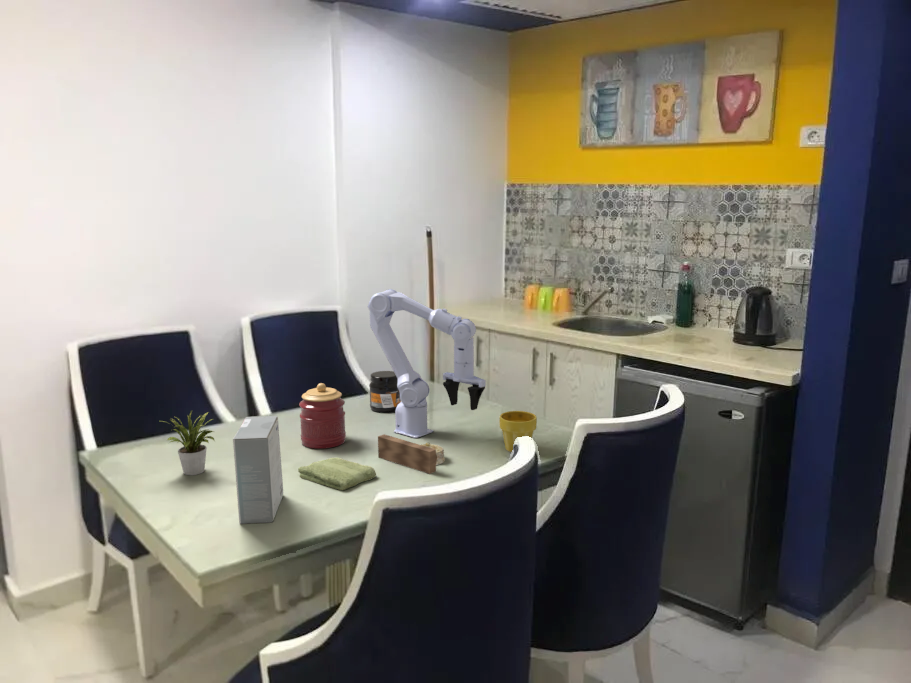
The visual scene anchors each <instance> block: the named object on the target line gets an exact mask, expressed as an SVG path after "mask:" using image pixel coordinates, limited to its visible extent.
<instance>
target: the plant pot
mask: <svg viewBox="0 0 911 683" xmlns="http://www.w3.org/2000/svg"><path fill="white" fill-rule="evenodd" d="M537 422H538V417H537V414H534V413H532V412H528V411H526V410H525V411H523V410H510V411H505V412H503V413H501V414H500V415H499V422H498V423H499V429H500V430H501V432H502V437H503V441H504V445H505V446H504V447H505V450H506V451H507V452H509V453H513V452H512V450H513V444H514V441H515V439H516V438H517V437H522V436H529V437H531V438H533V436H534V432H535V430H536V429H537Z"/></svg>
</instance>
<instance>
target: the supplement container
mask: <svg viewBox="0 0 911 683" xmlns="http://www.w3.org/2000/svg"><path fill="white" fill-rule="evenodd" d="M397 383H398V378H397V376H396V374H395V373H394V371H393V370H379V371H375V372H372V373H370V382H369V384H368V387H369V407H370V410H371V411H373V412H375V413H393V412H395V411H396V407H397V405H398V404H399V403H400V402H402V401H401V399H400V392H399V389H398V387H397Z"/></svg>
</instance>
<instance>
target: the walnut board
mask: <svg viewBox="0 0 911 683" xmlns="http://www.w3.org/2000/svg"><path fill="white" fill-rule="evenodd" d="M377 451H378V453H377V454H378V456H377V457H378V458H379V459H383V460H386V461H389V462H390V463H391V462H392V463H395V464H398V465H401V466H404V467H407V468H410V469H413V470H415V471H420V472H423V473H426V474H429V475H431V474H434V473H435V472H437V465H436V449H433V448H429V447H426V446H422V445H421V444H419V443H415V442H413V441H408V440H405V439H401V438H398V437H394V436H392V435H388V434H386V433H384V434H381V435H378V436H377Z"/></svg>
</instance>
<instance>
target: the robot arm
mask: <svg viewBox="0 0 911 683" xmlns="http://www.w3.org/2000/svg"><path fill="white" fill-rule="evenodd" d="M367 308H368V310H369V327H370V329H371V330H372V333H373V334H374V336H375V338H376V340H377V341H378V342H377V343H378V344H379V346H380V348H381V350H382V351H383V353H384V355H385V357H386V359H387V361H388V363H389V365H390V367H391V369H392V371H394V373H395V374H396V376H397V378H398V383H397V387H398V389H399V392H400V399H401V402H400V403H399V404H398V405H397V407H396V411H394V412H395V413H394V414H395V416H394V417H395V429H394V430H393V433H396V434H400V435H404V436H407V437H411V438H414V439H418V438H420V437H423V436H426V435H428V434H431V433H434V429H430V428H428V401H427V397H428V396H429V394H430V385H429V384H428V382H427V381H426V380H424V379H423V378H422V376H421V375H420V374H419V372H417V371H415V370H414V368H413V367H412V365H411V363H410V361H409V358H408V357H407V355H406V353H405V351H404V349H403V348H402V346H401V343H400V342H399V340H398V338H397V336H396V334H395V332H394V330H393V329H392V326H391V324H390V323H391V320H392V317H393V315H394V313H395V312H399V311H405V312H407V313H410V314H411V315H415V316H417V317H420V318H422V319H424V320H427V321H428V323H429V325H430V327H432V328H434V329H436V330H438V331H440V332H443V333H444V334H446V335H448V336H451V338H452V340H453V344H454V345H453V372H449V371H446V372H443V373H442V380H444V382H443V383H442V385H443V387H444V388H445V392H446V393H447V396H448V399H449V403H450V405H451V406H455V405H457V404H458V400H459V399H458V397H459V395H458V393H459V388H460V383H462V384H465V385H466V384H467V385H471V386H468V387H467V390H468V395H469V404H470V411H475V410H477V409H478V407H479V406H478V405H479V403H480V399H481V396H482V395H483V392H484V390H485V389H486V385H487V384H486V382H487V381H486V379H484V378H481V377H478V376H475V375H474V372H475V371H474V370H475V368H474V367H475V366H474V362H475V359H474V358H475V357H474V356H475V346H474V336H475V334H476V332H477V328H476V327H477V326H476V325H475V323H474V322H473V321H472V320H470V319H469V318H463V317H462V316H460V315H458V316H457V315H455V314H453V313H450V312H448V309H447V308H445V307H444V308H440V307H439V308H436V309H432V308H430V307H428V306H426V305H424V304H423V303H421V302H419V301H417V300H415V299H413V298H412V297H410V296H407V295H406V294H404V293H403V292H401V291H397V290H396V289H393V288H388V289H386V290H384V291H380V292H377V293H374V294H373V295H372V296H371V297H370V300H369V302H368V304H367ZM462 318H463V319H462Z"/></svg>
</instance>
